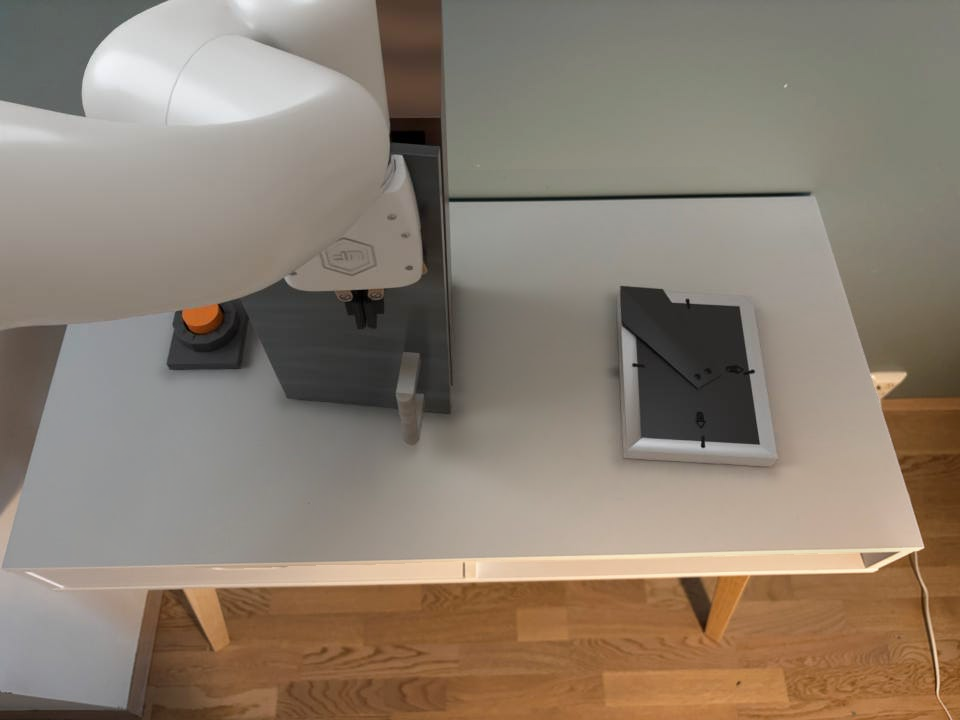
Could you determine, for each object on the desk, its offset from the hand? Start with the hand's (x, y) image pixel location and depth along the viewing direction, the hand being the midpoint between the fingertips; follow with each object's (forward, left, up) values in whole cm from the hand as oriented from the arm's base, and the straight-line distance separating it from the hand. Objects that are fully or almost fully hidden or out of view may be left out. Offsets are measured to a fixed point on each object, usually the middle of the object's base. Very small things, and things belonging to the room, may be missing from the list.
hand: (367, 314), depth 62 cm
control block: (-5, +24, -21) cm, 33 cm away
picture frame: (+26, -22, -21) cm, 40 cm away
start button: (-5, +24, -19) cm, 31 cm away
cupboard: (+7, +9, -21) cm, 24 cm away
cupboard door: (-2, +2, -21) cm, 21 cm away
